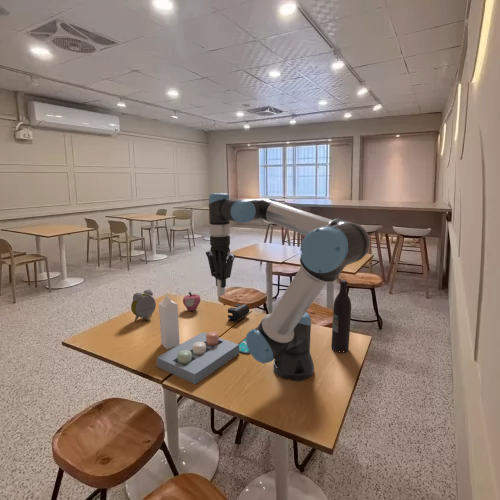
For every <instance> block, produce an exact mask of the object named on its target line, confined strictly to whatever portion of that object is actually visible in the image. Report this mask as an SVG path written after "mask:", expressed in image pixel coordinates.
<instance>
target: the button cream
mask: <svg viewBox="0 0 500 500" xmlns="http://www.w3.org/2000/svg"><path fill="white" fill-rule="evenodd" d="M192 346H193V354H195V355H197V356H201V355H203V354H205V353H206V344H205V343H204V342H196V343H194V344H193V345H192Z"/></svg>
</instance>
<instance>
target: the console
mask: <svg viewBox="0 0 500 500" xmlns="http://www.w3.org/2000/svg"><path fill="white" fill-rule="evenodd" d="M207 333H208V332H207ZM207 333H206V332H204V331H203V332H200V333H199V334H197V335H195V336H193V337H191V338H190V339H188V340H186V341H184V342H182V343H181V344H180V345H178V346H176V347H173V348H170V349H168V350H166V352H164V353H161V354H160V355H159V356H156V367H157V368H159V369H161V370H163V371H165V372H168V373H170V374H171V375H175V376H176V377H177V378H178V377H179V378H180V379H183V380H185V381H187V382H188V383H191V384H193V385H197V384H198V383H200V382H201V381H202V380H203V379H206V378H207V377H208V376H210V375H211V374H212V373H214V372H215V371H217V370H218V369H219V368H220V367H222V366H224V365H225V364H227V363H228V362H229V361H231V360H232V359H234V358H235V357H236V356H238V355H239V354H240V353H239V344H238V343H236V342H233V341H231V340H227V339H225V338H222V337H219V344H218V345H217V346H208V345H207V344H206V334H207ZM196 342H204V343H205V344H206V353H205V354H203V355H201V356H197V355H195V354H193V346H192V345H193V344H194V343H196ZM183 350H189V351H191V353H192V362H190V363H188V364H187V365H185V366H184V365H181V364H179V363H178V356H177V354H178V352H180V351H183Z"/></svg>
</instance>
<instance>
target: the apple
mask: <svg viewBox="0 0 500 500" xmlns="http://www.w3.org/2000/svg"><path fill="white" fill-rule="evenodd" d="M182 303H183V306H184V307H185V308H186V309H187V311H189V312H193V311H196V310H197V309H198V307H199V305H200V303H201V296H200V295H199V294H197V293H196V294H195V293H194V294H193V293H191V292H190V291H189V292H188V295H184V296H183V298H182Z"/></svg>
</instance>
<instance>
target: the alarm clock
mask: <svg viewBox="0 0 500 500" xmlns="http://www.w3.org/2000/svg"><path fill="white" fill-rule="evenodd" d="M153 295H154V293H153V291H152V290H151V289H150V288H149V289H146V290H143V293H142V292H135V293H134V294H133V295H132V301H131V304H130V309H131V310H130V311H131V312H132V313H133V315H135V318H134V322H137V320H138V319H139V318H141V319H142V318H143V319H145V318H146V320H147V321H148V322H149V321H151V320H150V316H151V317H152V316H153V315H152V314H153V313H154V311H155V310H156V304H157V303H156V299H155V298H154V297H153Z"/></svg>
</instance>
